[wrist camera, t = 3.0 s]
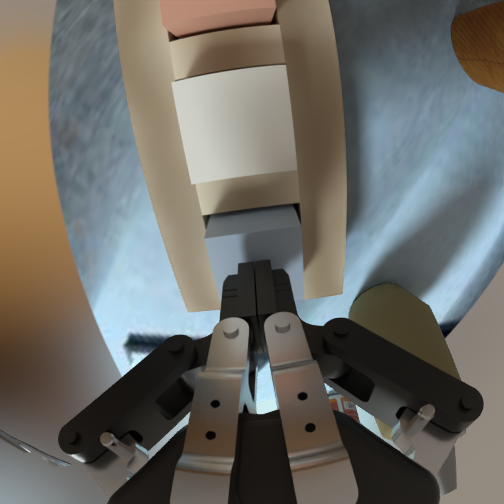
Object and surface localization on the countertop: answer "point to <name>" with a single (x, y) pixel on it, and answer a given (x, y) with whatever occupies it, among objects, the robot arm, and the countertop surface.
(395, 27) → the countertop surface
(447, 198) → the countertop surface
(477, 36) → the disposable coffee cup
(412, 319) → the squeeze bottle
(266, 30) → the key box
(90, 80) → the countertop surface
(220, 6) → the terracotta key
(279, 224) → the slate key
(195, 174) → the white key
